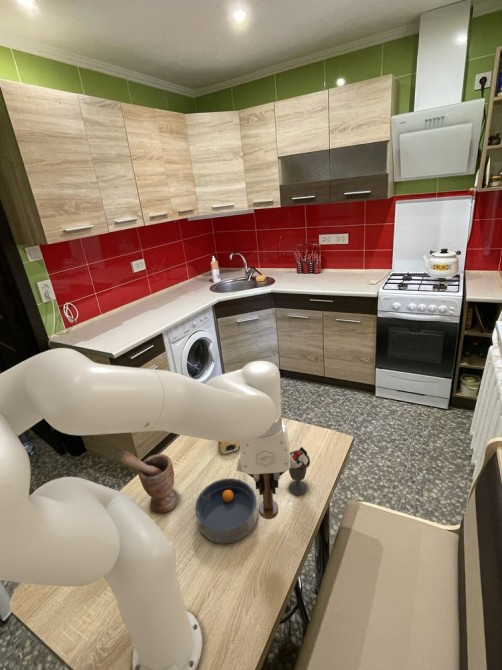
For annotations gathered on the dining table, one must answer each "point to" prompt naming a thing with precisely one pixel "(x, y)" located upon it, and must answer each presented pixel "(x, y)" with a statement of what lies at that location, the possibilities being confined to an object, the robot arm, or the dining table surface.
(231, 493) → the orange ball
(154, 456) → the mortar and pestle
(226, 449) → the pastry
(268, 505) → the brown flanged wooden cylinder
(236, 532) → the bowl
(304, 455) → the sundae
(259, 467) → the robot arm
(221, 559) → the dining table surface
